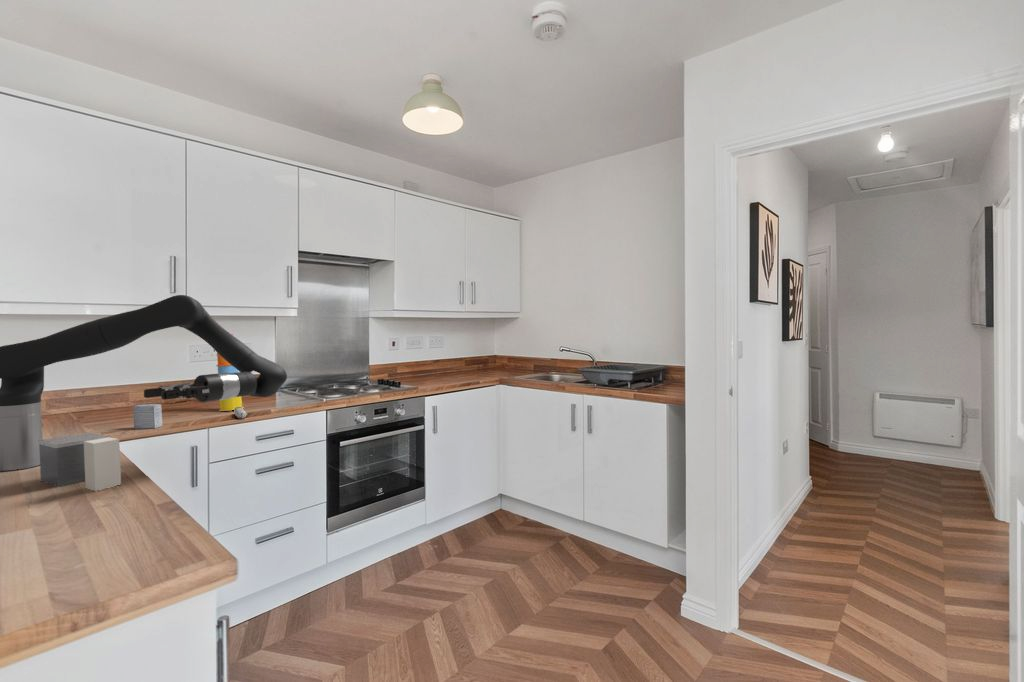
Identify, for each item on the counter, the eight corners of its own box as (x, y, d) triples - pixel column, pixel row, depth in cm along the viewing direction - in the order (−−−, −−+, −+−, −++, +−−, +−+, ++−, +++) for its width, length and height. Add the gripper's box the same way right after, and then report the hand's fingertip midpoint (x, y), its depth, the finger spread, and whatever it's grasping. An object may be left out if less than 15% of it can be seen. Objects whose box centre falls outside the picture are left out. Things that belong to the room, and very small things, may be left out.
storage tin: (39, 481, 125) (37, 440, 125) (90, 470, 134) (89, 432, 134) (57, 487, 120) (55, 444, 120) (109, 475, 129) (108, 436, 129)
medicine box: (162, 426, 195) (162, 403, 195) (155, 428, 191) (154, 405, 191) (141, 426, 195) (140, 404, 195) (133, 429, 191) (132, 406, 190)
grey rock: (231, 415, 220) (231, 400, 220) (244, 413, 223) (243, 399, 223) (236, 421, 206) (236, 405, 205) (249, 419, 208) (249, 403, 208)
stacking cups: (229, 412, 226) (227, 334, 225) (213, 411, 229) (210, 334, 228) (249, 408, 235) (246, 333, 234) (232, 408, 239) (230, 334, 238)
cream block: (85, 488, 119) (83, 441, 118) (110, 482, 123) (109, 437, 123) (95, 491, 116) (93, 443, 116) (121, 485, 120) (119, 439, 120)
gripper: (202, 373, 146) (138, 378, 132) (231, 374, 139) (167, 380, 125) (203, 399, 146) (139, 407, 132) (233, 401, 139) (168, 411, 125)
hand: (153, 394), depth 129 cm, fingers open, 8 cm apart
